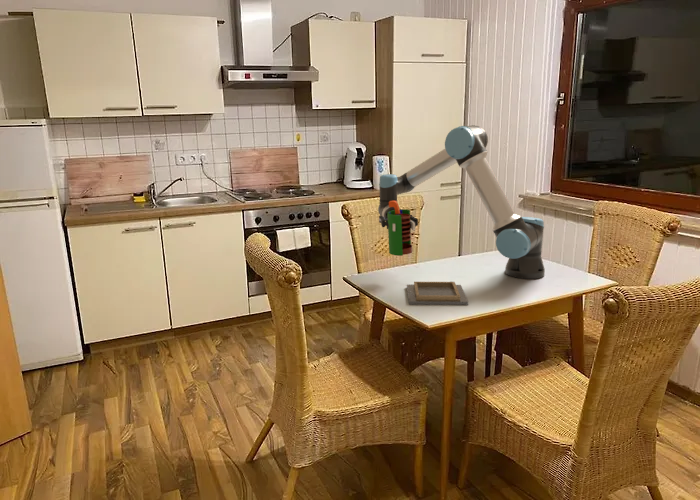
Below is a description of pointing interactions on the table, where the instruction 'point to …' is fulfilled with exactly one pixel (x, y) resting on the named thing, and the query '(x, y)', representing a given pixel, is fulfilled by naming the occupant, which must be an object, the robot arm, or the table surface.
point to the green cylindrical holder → (399, 230)
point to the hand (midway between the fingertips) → (404, 227)
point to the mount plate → (436, 294)
